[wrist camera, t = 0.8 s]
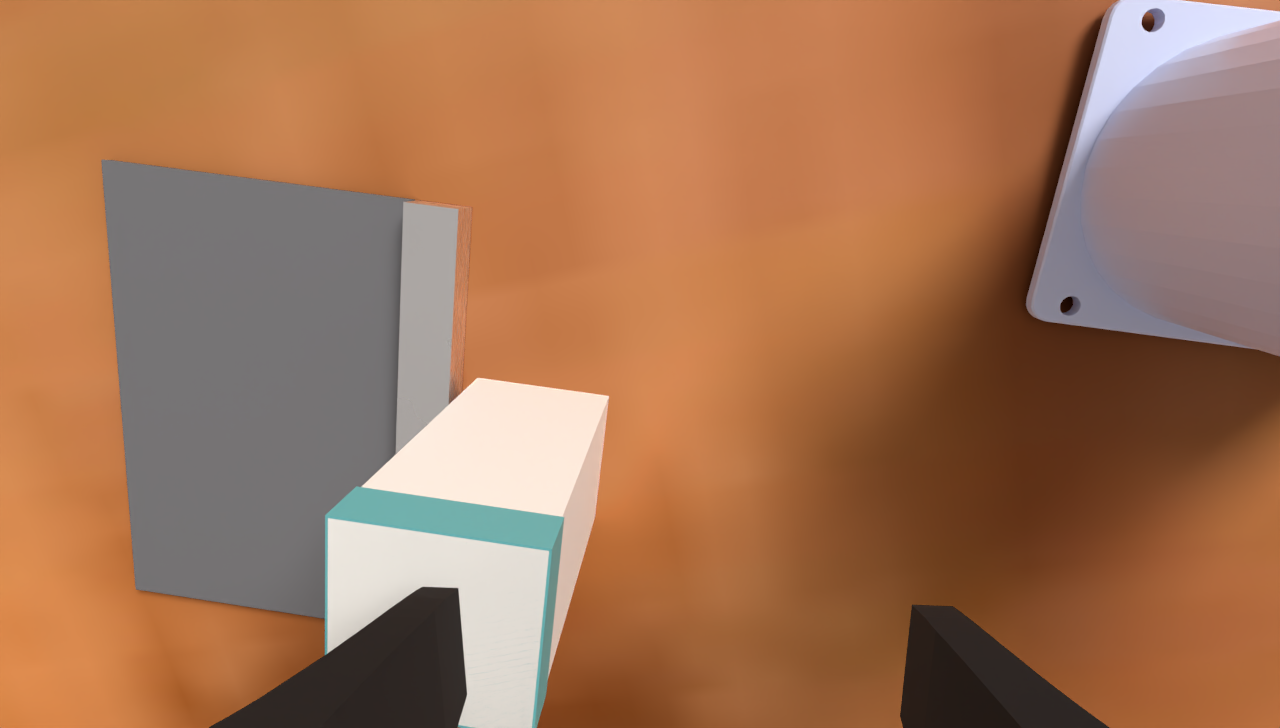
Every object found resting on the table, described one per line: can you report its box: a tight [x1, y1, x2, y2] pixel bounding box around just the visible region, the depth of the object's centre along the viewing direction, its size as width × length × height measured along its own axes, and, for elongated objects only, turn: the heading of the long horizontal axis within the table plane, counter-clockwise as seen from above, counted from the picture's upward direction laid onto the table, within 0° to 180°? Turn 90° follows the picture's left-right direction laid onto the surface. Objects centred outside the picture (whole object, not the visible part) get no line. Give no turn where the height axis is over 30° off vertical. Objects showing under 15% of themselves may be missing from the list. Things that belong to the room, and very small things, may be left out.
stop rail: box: [396, 200, 472, 454], centre depth 21 cm, size 2×14×1 cm, turn 173°
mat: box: [102, 160, 415, 619], centre depth 22 cm, size 9×14×1 cm, turn 173°
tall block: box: [325, 378, 609, 728], centre depth 17 cm, size 4×4×9 cm
